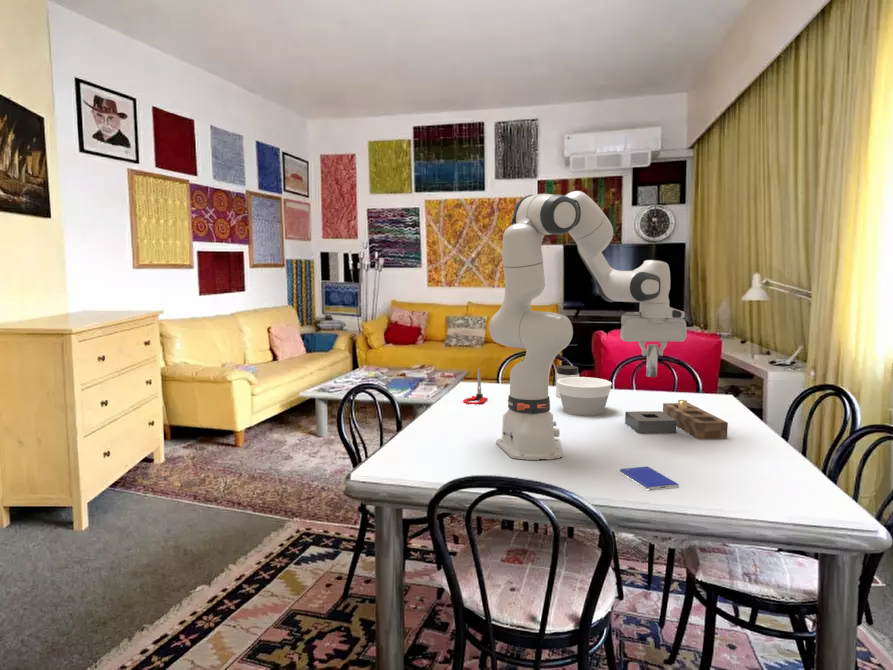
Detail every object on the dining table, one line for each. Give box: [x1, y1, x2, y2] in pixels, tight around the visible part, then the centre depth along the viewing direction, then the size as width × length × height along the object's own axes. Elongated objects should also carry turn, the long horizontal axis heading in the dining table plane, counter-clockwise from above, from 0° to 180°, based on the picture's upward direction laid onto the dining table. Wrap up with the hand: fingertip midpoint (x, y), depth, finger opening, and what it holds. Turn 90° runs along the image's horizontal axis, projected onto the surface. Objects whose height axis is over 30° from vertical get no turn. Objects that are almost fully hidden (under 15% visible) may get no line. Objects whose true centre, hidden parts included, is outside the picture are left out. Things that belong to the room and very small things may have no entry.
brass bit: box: [677, 399, 688, 408], centre depth 197 cm, size 3×3×7 cm
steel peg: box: [645, 343, 659, 378], centre depth 187 cm, size 3×3×10 cm
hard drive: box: [619, 466, 680, 490], centre depth 143 cm, size 2×8×12 cm
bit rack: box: [662, 402, 729, 440], centre depth 190 cm, size 26×9×5 cm, turn 2°
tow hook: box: [462, 367, 489, 405], centre depth 226 cm, size 8×13×9 cm
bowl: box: [557, 376, 613, 417], centre depth 212 cm, size 19×19×11 cm
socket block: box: [624, 410, 677, 434], centre depth 189 cm, size 12×12×4 cm
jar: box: [555, 365, 580, 399], centre depth 236 cm, size 9×8×12 cm
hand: (652, 355), depth 187 cm, fingers closed on steel peg, 3 cm apart
